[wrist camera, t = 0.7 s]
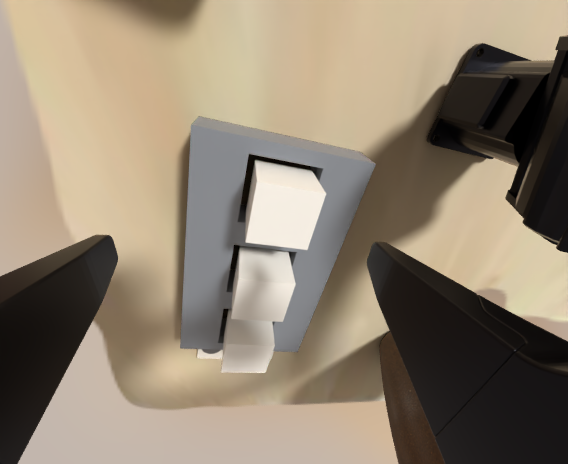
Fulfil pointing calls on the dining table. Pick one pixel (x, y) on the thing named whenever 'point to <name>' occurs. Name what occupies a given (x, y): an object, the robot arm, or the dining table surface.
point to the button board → (232, 225)
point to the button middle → (262, 284)
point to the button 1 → (247, 345)
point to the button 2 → (282, 205)
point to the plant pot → (405, 411)
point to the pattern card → (213, 353)
